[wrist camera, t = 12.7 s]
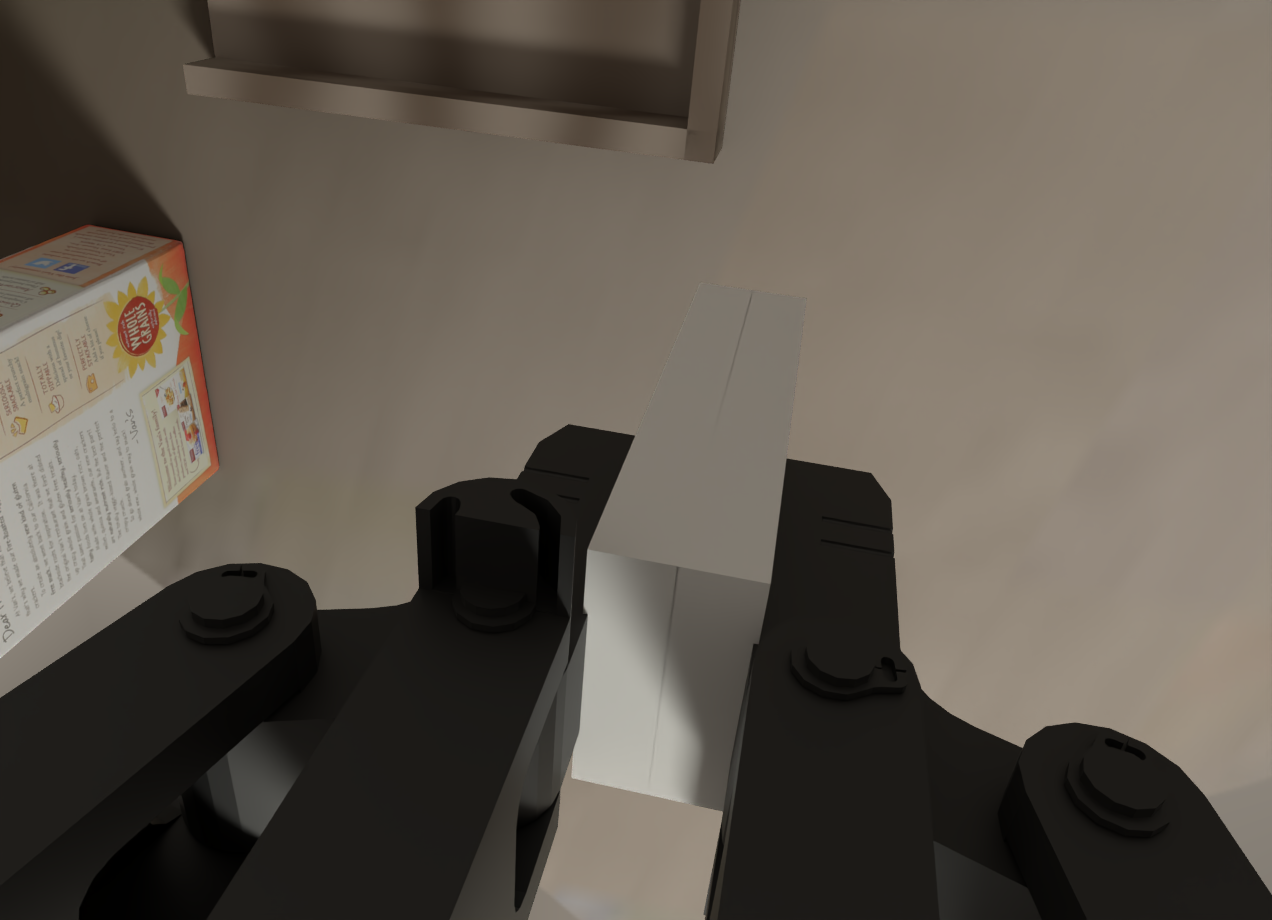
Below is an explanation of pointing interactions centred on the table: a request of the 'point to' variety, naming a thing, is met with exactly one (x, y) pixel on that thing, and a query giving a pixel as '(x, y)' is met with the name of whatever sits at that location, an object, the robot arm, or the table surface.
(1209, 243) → the table surface
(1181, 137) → the table surface
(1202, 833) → the robot arm
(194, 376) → the cracker box
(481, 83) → the slide box
